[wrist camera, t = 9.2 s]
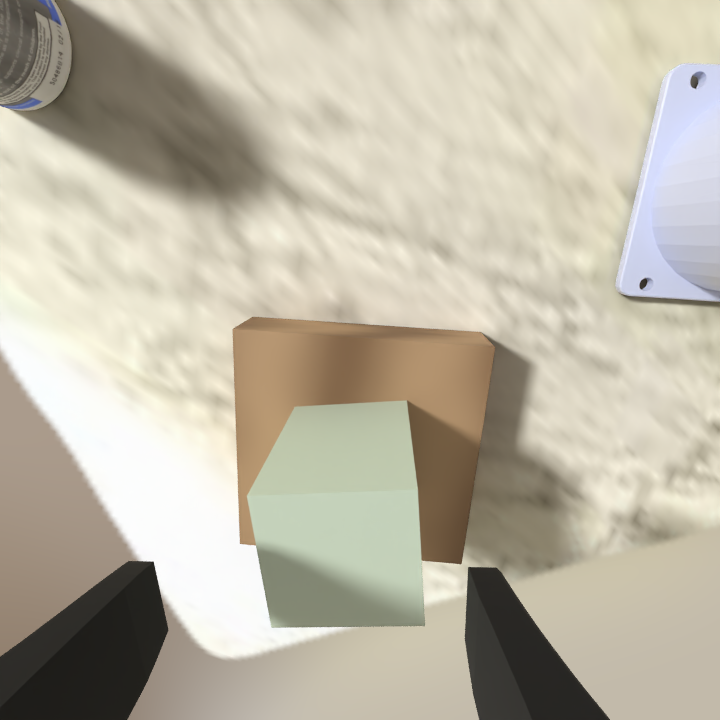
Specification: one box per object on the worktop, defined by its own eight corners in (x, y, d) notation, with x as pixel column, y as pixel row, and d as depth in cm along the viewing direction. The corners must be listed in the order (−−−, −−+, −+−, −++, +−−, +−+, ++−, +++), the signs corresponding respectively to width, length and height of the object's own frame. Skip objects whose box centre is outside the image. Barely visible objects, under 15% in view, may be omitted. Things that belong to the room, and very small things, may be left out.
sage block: (406, 400, 16) (417, 489, 11) (412, 498, 18) (424, 626, 12) (294, 406, 17) (246, 495, 11) (308, 502, 18) (271, 627, 12)
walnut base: (480, 332, 18) (495, 347, 15) (452, 526, 21) (461, 564, 18) (252, 316, 18) (232, 329, 16) (256, 509, 21) (240, 543, 19)
